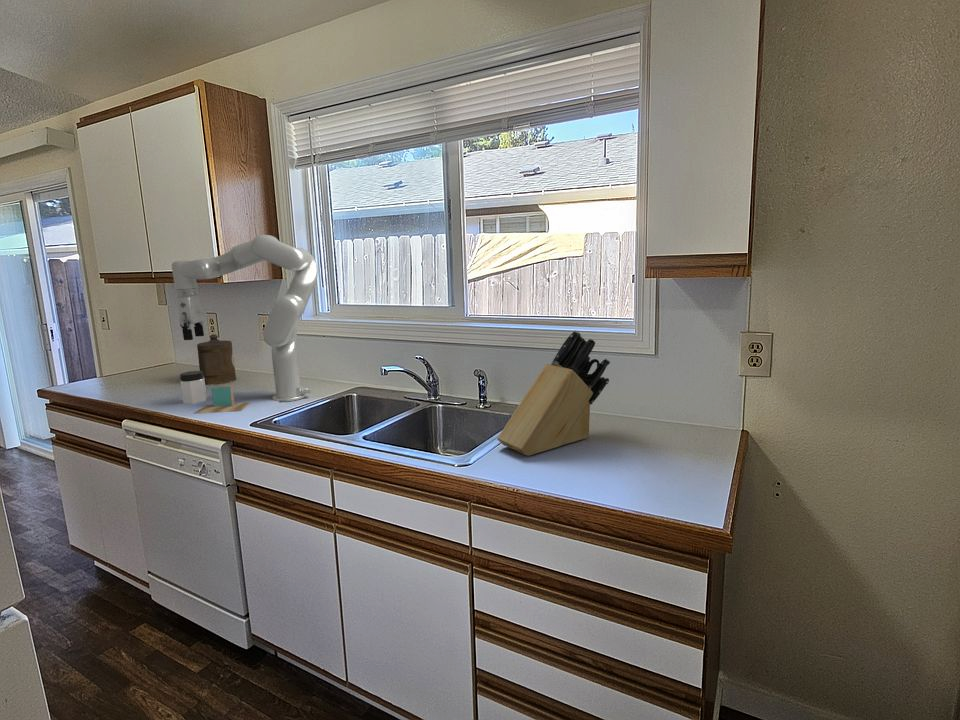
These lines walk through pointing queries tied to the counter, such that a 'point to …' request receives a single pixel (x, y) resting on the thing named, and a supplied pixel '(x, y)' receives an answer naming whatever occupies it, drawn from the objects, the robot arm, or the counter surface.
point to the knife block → (557, 401)
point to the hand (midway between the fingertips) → (194, 338)
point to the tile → (222, 395)
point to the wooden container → (216, 361)
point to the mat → (222, 408)
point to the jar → (193, 387)
